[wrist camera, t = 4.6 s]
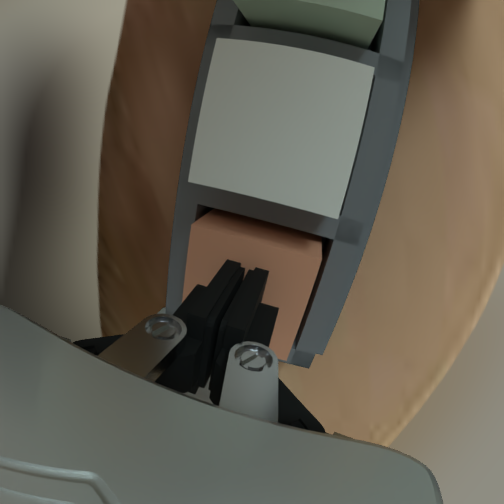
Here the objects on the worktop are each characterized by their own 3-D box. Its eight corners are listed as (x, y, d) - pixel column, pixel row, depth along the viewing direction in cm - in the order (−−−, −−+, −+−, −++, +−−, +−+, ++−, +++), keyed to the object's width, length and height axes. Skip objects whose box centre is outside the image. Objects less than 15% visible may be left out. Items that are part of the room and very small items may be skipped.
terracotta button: (222, 202, 15) (191, 224, 11) (321, 228, 14) (322, 259, 11) (208, 288, 17) (179, 328, 13) (294, 313, 16) (286, 360, 13)
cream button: (245, 64, 12) (216, 37, 8) (358, 88, 11) (374, 67, 7) (223, 169, 13) (187, 181, 10) (332, 196, 13) (337, 219, 9)
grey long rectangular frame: (248, -55, 11) (228, -94, 7) (414, -23, 10) (435, -58, 5) (178, 298, 20) (146, 335, 16) (322, 340, 19) (320, 389, 15)
